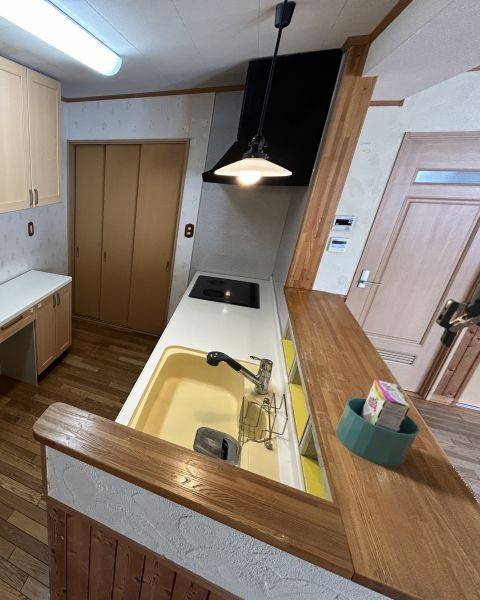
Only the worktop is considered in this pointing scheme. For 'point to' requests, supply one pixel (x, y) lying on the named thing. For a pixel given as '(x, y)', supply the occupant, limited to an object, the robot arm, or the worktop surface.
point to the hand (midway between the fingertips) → (472, 351)
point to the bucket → (375, 436)
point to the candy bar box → (385, 406)
